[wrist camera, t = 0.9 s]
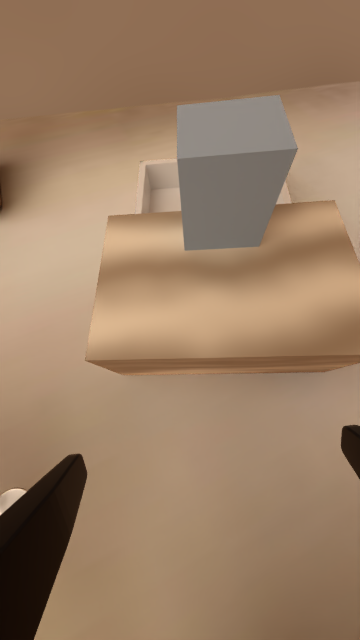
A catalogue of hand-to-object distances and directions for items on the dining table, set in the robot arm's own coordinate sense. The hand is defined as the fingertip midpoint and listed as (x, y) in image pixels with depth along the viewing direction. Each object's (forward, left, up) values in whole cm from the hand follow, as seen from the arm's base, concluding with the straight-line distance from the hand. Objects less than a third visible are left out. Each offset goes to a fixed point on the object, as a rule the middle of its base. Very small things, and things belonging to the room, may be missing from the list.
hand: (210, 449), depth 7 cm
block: (+12, -10, -5) cm, 17 cm away
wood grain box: (+8, -8, -13) cm, 17 cm away
